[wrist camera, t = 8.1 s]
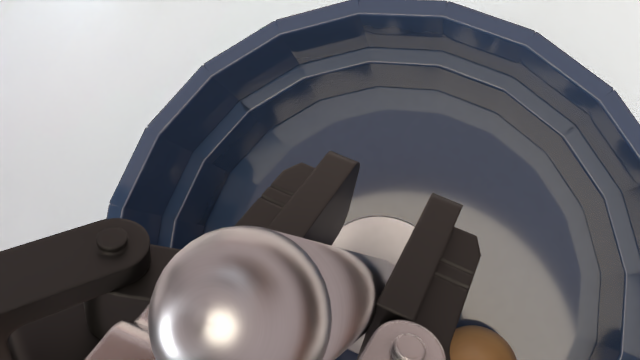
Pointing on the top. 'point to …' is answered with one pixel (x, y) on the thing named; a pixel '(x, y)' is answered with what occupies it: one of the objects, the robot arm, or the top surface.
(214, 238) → the silver rod with base
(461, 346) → the bead
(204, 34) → the top surface
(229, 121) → the bowl
